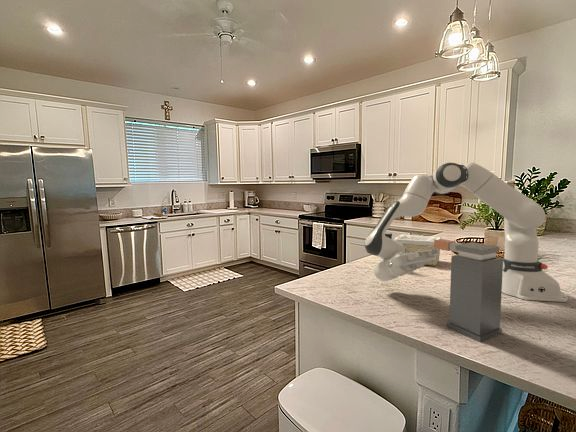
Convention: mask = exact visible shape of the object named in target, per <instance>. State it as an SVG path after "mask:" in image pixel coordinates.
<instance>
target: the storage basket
mask: <svg viewBox="0 0 576 432" xmlns="http://www.w3.org/2000/svg"><path fill="white" fill-rule="evenodd" d="M438 239H442V236H441V237H440V236H431V235H429V236H427V235H415V234H414V235H413V234H404V233H403V234H399V235H398V236H396V237H395V238H394V240H395V241H397V242H399V243H401V244H403V245H404V246H405V248H406V252H409V253H413V252H420V251H426V250H431V249H436V248H434V240H438ZM438 250H439V253H438V254H437V255H438V257H437V258H436V259H435V260H433V261H431V262H429V263H427V264H425V265H424V266H436V265H437V264H438V263H439V261H440V255H441V254H440V253H441V249H438Z"/></svg>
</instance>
